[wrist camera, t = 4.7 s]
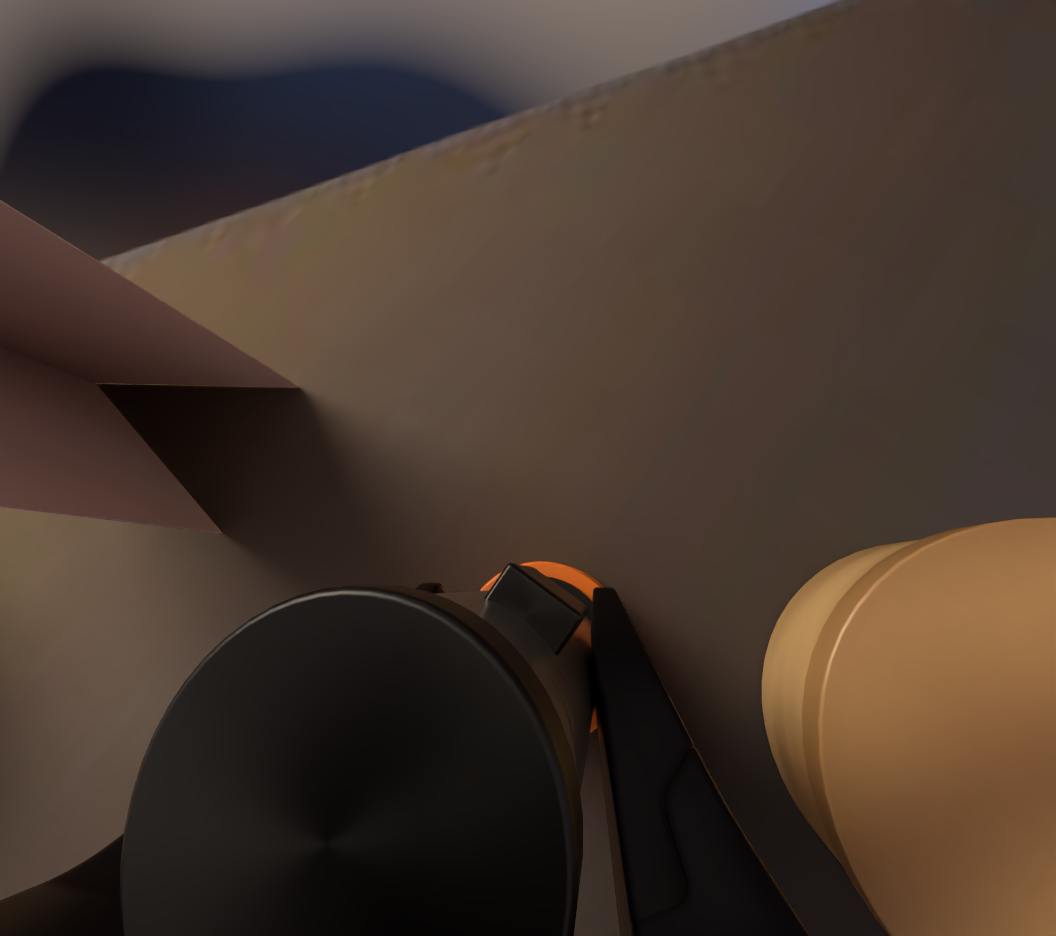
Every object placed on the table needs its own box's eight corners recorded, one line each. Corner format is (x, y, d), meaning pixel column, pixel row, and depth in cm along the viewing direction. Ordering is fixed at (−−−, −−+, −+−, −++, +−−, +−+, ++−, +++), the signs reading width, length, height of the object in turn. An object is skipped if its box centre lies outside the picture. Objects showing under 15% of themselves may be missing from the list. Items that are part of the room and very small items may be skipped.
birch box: (1299, 834, 11) (1734, 994, 7) (916, 1018, 11) (1095, 1278, 7) (980, 477, 14) (1140, 432, 10) (688, 633, 15) (719, 654, 10)
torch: (574, 742, 14) (354, 1636, 2) (465, 649, 16) (-56, 883, 4) (653, 619, 15) (835, 792, 3) (540, 539, 16) (310, 407, 4)
